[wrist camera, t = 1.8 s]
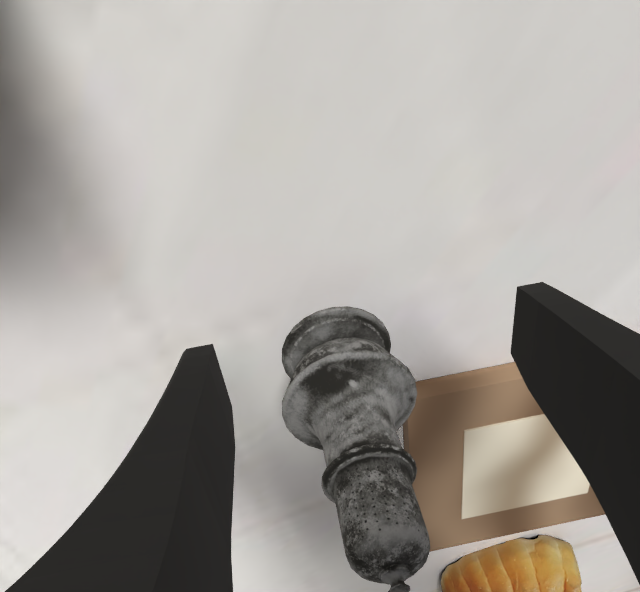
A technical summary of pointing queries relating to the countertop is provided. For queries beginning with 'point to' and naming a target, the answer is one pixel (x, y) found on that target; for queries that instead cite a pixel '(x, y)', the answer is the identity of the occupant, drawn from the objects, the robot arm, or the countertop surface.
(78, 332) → the countertop surface
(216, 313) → the countertop surface
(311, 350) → the salt shaker
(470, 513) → the walnut board
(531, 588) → the pastry
